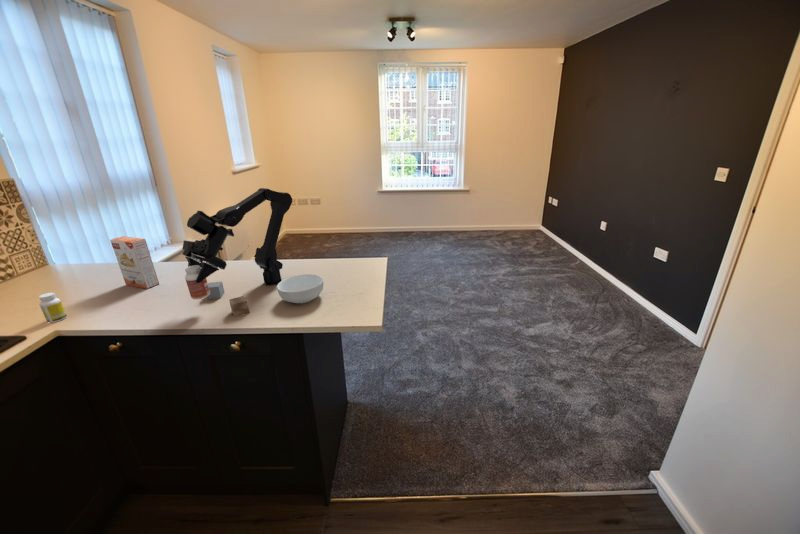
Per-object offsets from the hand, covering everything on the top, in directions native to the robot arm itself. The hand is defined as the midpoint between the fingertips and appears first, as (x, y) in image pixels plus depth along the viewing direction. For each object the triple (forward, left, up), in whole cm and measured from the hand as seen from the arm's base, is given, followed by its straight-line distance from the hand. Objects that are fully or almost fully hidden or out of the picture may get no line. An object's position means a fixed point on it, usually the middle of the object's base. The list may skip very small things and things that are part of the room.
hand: (192, 280), depth 123 cm
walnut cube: (-14, +5, -13) cm, 19 cm away
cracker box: (+28, -40, -13) cm, 51 cm away
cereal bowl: (-36, +3, -13) cm, 38 cm away
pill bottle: (-1, -1, -7) cm, 7 cm away
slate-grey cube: (-4, -14, -13) cm, 19 cm away
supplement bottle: (+48, -16, -13) cm, 53 cm away
